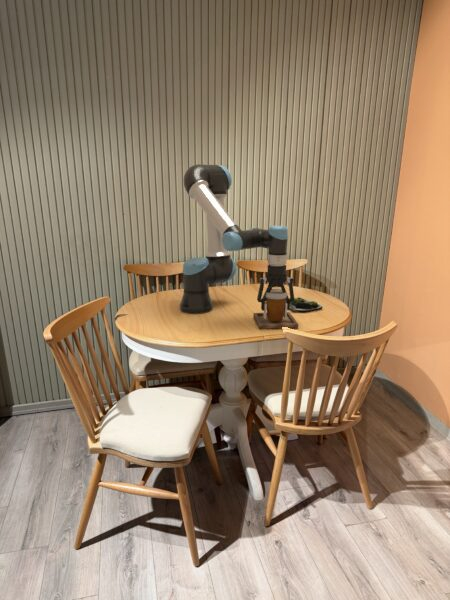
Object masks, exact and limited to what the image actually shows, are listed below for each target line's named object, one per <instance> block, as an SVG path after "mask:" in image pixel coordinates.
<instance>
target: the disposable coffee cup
mask: <svg viewBox="0 0 450 600" xmlns="http://www.w3.org/2000/svg"><path fill="white" fill-rule="evenodd" d="M286 292H287V291H286ZM286 292H285V293H283V292H282V289H281V288H272V289H271V291H270V293H268V292H264V293H267V294H266V295H265V294H263V296H264V295H265V296H266V298H267V299H266V301H265V302H266V303H267V311H266V313H267V318H268V320H270V321H281V320H282V319H283V313H284V307H285V302H286V297H287V295H288V293H286Z"/></svg>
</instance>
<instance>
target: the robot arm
mask: <svg viewBox="0 0 450 600" xmlns="http://www.w3.org/2000/svg"><path fill="white" fill-rule="evenodd" d="M231 175H232V174H231V172H230V171H229V169H228V168H227V167H226V166H224V165H221V164H220V165H219V164H194V165H191V166H189V167H188V168H187V169H186V171H185V173H184V175H183V181H182V182H183V187H184V189H185V191H186V193H187V194H188V196H189V197H190V198H191V199H193V200H195V201H196V203H197V204H198V206H200V208H201V209H202V211H203V212H204V213H205V214H206V215H205V216H206V230H207V245H208V247H207V248H208V252H207V253H206V254H205V257H193V258H189V259H187V260H185V261H184V262H183V265H182V282H183V287H182V288H183V294H182V297H181V301H180V304H179V307H180V308H179V310H180V311H181V312H183V313H187V314H203V313H204V314H205V313H209V312H211V311H212V310H214V309H213V301H212V299H211V296H210V287H209V286H211V285H215V284H220V283H226V282H228V281H229V282H230V281H231V280H232V279H233V278H234V276H235V275H236V270H237V265H236V262H235V260H234V259H233V257H231V253H230V252H237V251H243V250H249V249H257V248H263V249H268V250H267V263H268V264H267V274H266V277H260V278H259V287H258V292H257V298H256V300H257V302H258V303H261V304H260V305H261V306H260V309H261V311H263V313H264V314H263V317H264V319H266V313H267V303H266V299H267V298H266V296H265V295H266V294H267V293H265V292H268V293H270V291H271V289H274V288H280V289H281V290H282V292H283V293H285V292H286V293H287V290H286V287H285V285H284V284H285V282H287V283H288V290H289V295H288V293H287V297H286V302H285V307H284V318H287V312H288V311H289V310H290V302H292V301H294V298H295V294H294V284H293V283H294V279H293V277H287V257H288V256H287V255H288V238H289V235H288V232H289V231H288V229H289V228H288V227H287V226H285V225H270V226H269V228H268V229H264V228H260V227H255V228H254V227H253V228H252V227H251V228H249V229H247V230H245V229H244V230H242V229H241V227H240V226H239V225H238V224H237V222H236V221H235V220H234V218H232V216H231V215H230V214H229V212H228V211H227V210H226V209H225V198H226V197H227V196H228V191H229V190H230V189H231V186H232V181H233V180H232V176H231ZM266 282H268V285H267V287H266V289H265V292H263V291H264V287H265V284H266ZM263 293H264V294H265V295H264V294H263Z"/></svg>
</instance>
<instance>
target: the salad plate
mask: <svg viewBox="0 0 450 600" xmlns="http://www.w3.org/2000/svg"><path fill="white" fill-rule="evenodd" d="M322 308H323V304H322V303H319V302H316V301H313V300H310V299H308V298H307V299H306V298H302V297H300V296H298V297H294V301H292V302H290V309H289V310H290V311H292V312H296V313H302V314H303V313H314V312H317V311H319V310H322Z"/></svg>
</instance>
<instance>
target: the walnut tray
mask: <svg viewBox="0 0 450 600" xmlns="http://www.w3.org/2000/svg"><path fill="white" fill-rule="evenodd" d="M291 313H292V312H290V311H287V318H284V313H283V319H282V320H281V321H270V320H268V318H267V312H266V319H264V317H263V314H264V312H253V319H254V322H255V321H256V322H255V324H256V326H257V328H258V330H259V329H272V330H283V329H282V327H288V328H292V329H291V330H298V329H299V323H298V321H297V320H296V319H295V318H294V316H293V314H291Z"/></svg>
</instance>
